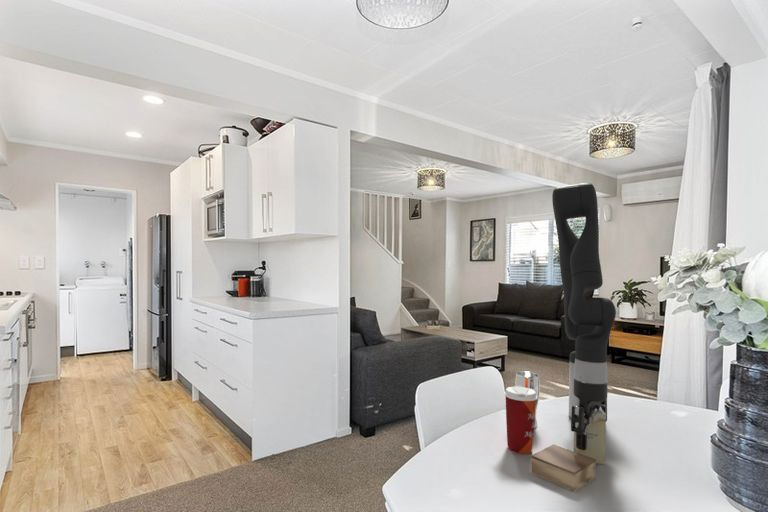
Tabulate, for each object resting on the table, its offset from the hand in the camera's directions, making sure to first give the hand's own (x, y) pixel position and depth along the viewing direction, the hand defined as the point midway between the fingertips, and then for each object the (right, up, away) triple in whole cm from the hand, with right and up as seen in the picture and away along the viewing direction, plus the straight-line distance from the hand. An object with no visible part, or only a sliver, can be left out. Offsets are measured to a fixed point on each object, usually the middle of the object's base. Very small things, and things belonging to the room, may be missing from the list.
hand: (589, 444), depth 104 cm
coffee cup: (-16, -4, +5) cm, 17 cm away
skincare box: (0, -4, 0) cm, 4 cm away
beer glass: (-8, -4, +22) cm, 24 cm away
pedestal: (-10, -3, -8) cm, 13 cm away
